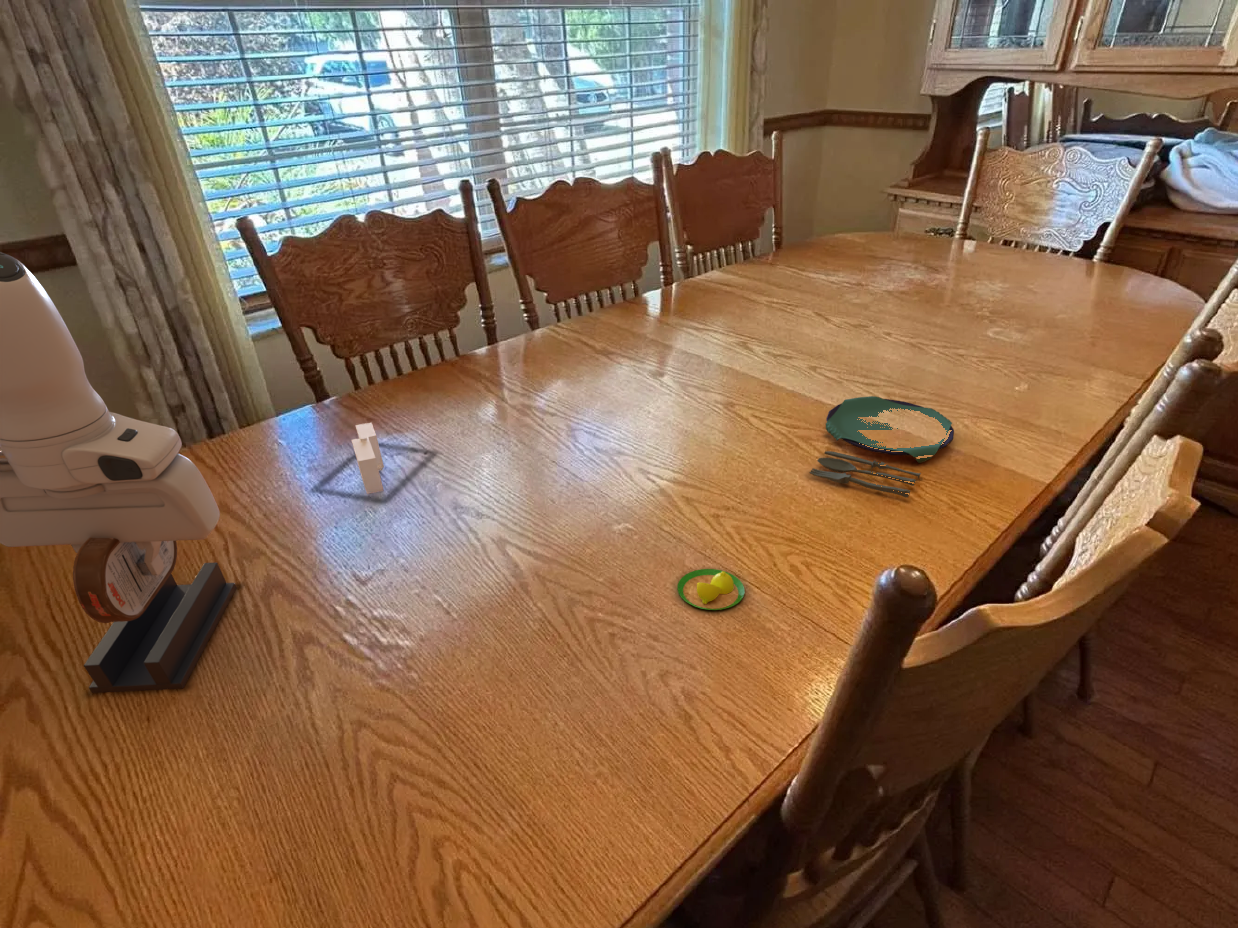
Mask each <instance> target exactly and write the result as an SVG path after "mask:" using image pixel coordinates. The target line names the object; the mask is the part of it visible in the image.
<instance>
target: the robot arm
mask: <svg viewBox="0 0 1238 928" xmlns="http://www.w3.org/2000/svg"><path fill="white" fill-rule="evenodd" d="M182 446H183V445H182V439H181V437H180V436H179V433H178V432H177V430H175V429H173V428H171V427H169V426H164V425H161V424H156V423H151V422H147V421H144V420H139V419H135V418H133V417H130V416H129V417H128V416H125V415H122V414H119V413H116V412H113V411H110V410H109V409H108V407H107V404H106V403H105V401H104V400H103V398H102V397H101V396H100V394H98V392H97V391H96V390H95V389H94V388H93V386H92V385H91V383H90V381H89V379H88V376H87V374H86V372H85V363H84V359H83V357H82V354H81V351H80V350H79V348H78V346H77V344H76V342H75V340H74V338H73V336H72V334H71V332H70V330H69V328H68V326H67V324H66V322H65V321H64V319H63V317H62V315H61V313H60V312H59V310H58V308H57V307H56V305H55V304H54V302H53V300H52V299H51V297H50V296H49V294H48V293H47V291H46V290H45V288H44V287H43V285H42V284H41V283H40V282H39V280H38V279H37V278H36V276H34V274H33V273H32V272H31V271H30V270H29V269H28V268H27V267H26V266H25V264H24V263H22V262H21V261H20V260H18V259H17V258H16V257H14V256H11V255H9V254H8V253H7V254H6V253H4V252H2V251H0V544H2V545H3V546H5V547H9V548H17V547H18V548H19V547H43V546H47V547H48V546H71V547H72V549H73V551H74V552H75V553H76V554H77V552H78V550H79V549H80V547H81V546H82V545H83V544H84V543H85V541H86V540H87V539H88V538H89V537H91V538H116V539H118V540H119V541H120V543H126V542H136V544H137V546H138V548H139V549H146V552H145V553H144V554H143V555H142V556H141V559H139V560H138V561H137V563H136V564H137V566H138V568H139V569H140V570H141V574H142V575H143V576H151V575H160V574H161V572H162V571H163V569H164V564H163V562H162V560H161V558H160V556H159V554H158V553H159V550H160V546H161V541H176V542H177V541H178V542H179V541H202V540H206V539H207V538H209V536H210V535H211V534H212V532H213V531H214V529H215V528H216V526H218V525H217V524H218V523H219V521H220V518H221V517H220V516H221V512H220V509H219V506H218V503H217V501H216V500H215V496H214V494H213V493H212V491H211V489H210V487H209V485H208V483H207V481H206V479H205V478H204V476H203V474H202V473H201V471H200V469H199V468H198V467H197V466H196V465H195V464H196V463H194V462H193V461H192V460H190V459H189V458H188V457H186V456H185V455H182V454H180V453H179V452H180V450H181V448H182Z"/></svg>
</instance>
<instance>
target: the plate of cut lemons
mask: <svg viewBox="0 0 1238 928" xmlns="http://www.w3.org/2000/svg"><path fill="white" fill-rule="evenodd" d="M702 576H713V577H712V578H711V581H710V583H707V582H702V581H700V582H697V583H696V592H697V596H698V598H699V599H700V600H701V601H702V604H703V605H707V604H708V603H709V602H712V601H714V600H716V599H717V598H718V596H719V595H727V594H731V593H732V592H733V591H734V589H735V587H736V589H737V598H736V599H735V601H733V602H732V603H730V604H729V605H727V606H723V607H719V608H706V607H703V606H698V605H697V604H694V603H692V602H691V601H689V600H688V599H687V597H686V596H685V593H684V587H685V585H686V584H687V583H688V582H689V581H691V580H692V579H695V578H697V577H702ZM745 591H746V590H745V587H744V584H743V582H742V581H741V580H740V579H739V578H738V577H737V576H735V575H733V574H732V573H731V572H727V571H725V570H721V569H717V568H700V569H696V570H692V571H690V572H688V573H686V574H685V575H683V576H682V577H681V578H680V579H679V581H678V583H677V593H678V595H679V596H680V598H681V599H682V600H683V601H684V602H686V603H687V604H689V605H691V606H693V607H695V608H697V609H698V608H699V609H702V610H711V611H718V610H725V609H729V608H732V607H734V606H736V605H737V604H739V603H740V602H741V601H742V600H743V598H744V596H745V593H746V592H745Z"/></svg>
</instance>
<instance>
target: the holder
mask: <svg viewBox="0 0 1238 928" xmlns="http://www.w3.org/2000/svg"><path fill="white" fill-rule="evenodd" d="M237 589H238V587H237V585H236V583H235V582H227V580H226V578H225V576H224V574H223V572H222V570H221V567H220V564H219V563H218V562H204V563H203V565H202V566H201V568H200V570H199V571H198V573H197V575H195V577H194V579H193V581H192V582H191V583H190V584H178V583H177V582H176V580H175V577H174V576H173V573H171V575H170V576H169V577H168V579H167V580H166V582H165V583H164V585H163V586H162V587H161V589H160V590H159V592H158V593H157V594H156V596H155V597H154V599H153V600H152V601H151V603H150V604H149V606H148V607H147V608H146V610H145V611H144V613H143V614H142V615H141V616H140V617H138V618H137V619H134V620H131V621H123V622H112V624H111V625H110V627H109V628H108V630H107V631H106V632H105V634H104V635H103V637H102V638H101V639H100V641H99V642H98V644H97V645H96V647H95V648H94V649H93V651H92V653H90V655H89V657H88V658H87V660H86V661H85V663H84V664H83V668H84V669H85V670H86V672H87V673H88V675H89V677H90V678H91V679H92V681H91V683H90V685H89V686H88V689H89V690H90V692H91V693H92V694H100V693H119V692H120V693H121V692H123V693H124V692H141V691H143V692H144V691H162V690H164V691H165V690H166V691H167V690H183V689H185V687H186V684H187V682H188V681H189V679H190V677H191V675H192V673H193V671H194V670H195V667H196V666H197V664H198V662H199V660H200V658H201V657H202V655H203V653H204V650H205V649H206V647H207V645H208V643H209V641H210V640H211V637H212V636H213V634H214V632H215V630H216V628H217V626H218V624H219V623H220V620H221V619H222V617H223V615H224V613H225V611H226V610H227V608H228V606H229V604H230V602H231V601H232V598H233V596H234V594H235V592H236V590H237Z"/></svg>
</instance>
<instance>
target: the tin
mask: <svg viewBox="0 0 1238 928" xmlns="http://www.w3.org/2000/svg"><path fill="white" fill-rule="evenodd" d="M177 544H178V543H177V541H161V546H160V550H159V553H158V554H159V556H160V558H161V560H162V562H163V564H164V569H163V571H162V572H161V574H160V575H151V576H143V575H142V574H141V570H140V569H139V568H138V566H137V564H136V563H137V561H138V560H139V559H141V556H142V555H143V554H144V553H145V552H146V549H139V548H138V546H137V544H136V542H126V543H120V541H119V540H118V539H116V538H91V537H89V538H88V539H87V540H86V541H85V543H84V544H83V545H82V546H81V547H80V549H79V550H78V552H77V553H76V555H75V558H74V560H73V561H74V562H73V567H72V580H73V588H74V591H75V595H76V598H77V600H78V603H79V605H80V606H81V608H82V610H83V611H84V612H85V613H86V615H87V616H88V617H90V618H91V619H92V620H94V621H95V622H98V623H102V624H110V623H113V622H123V621H131V620H134V619H137V618H138V617H140V616H141V615H142V614H143V613H144V611H145V610H146V608H147V607H148V606H149V604H150V603H151V601H152V600H153V599H154V597H155V596H156V594H157V593H158V592H159V590H160V589H161V587H162V586H163V585H164V583H165V582H166V580H167V579H168V577H169V576H170V575H171V574H173V572H174V569H175V567H176V563H177V560H178V559H177V558H178V545H177Z"/></svg>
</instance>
